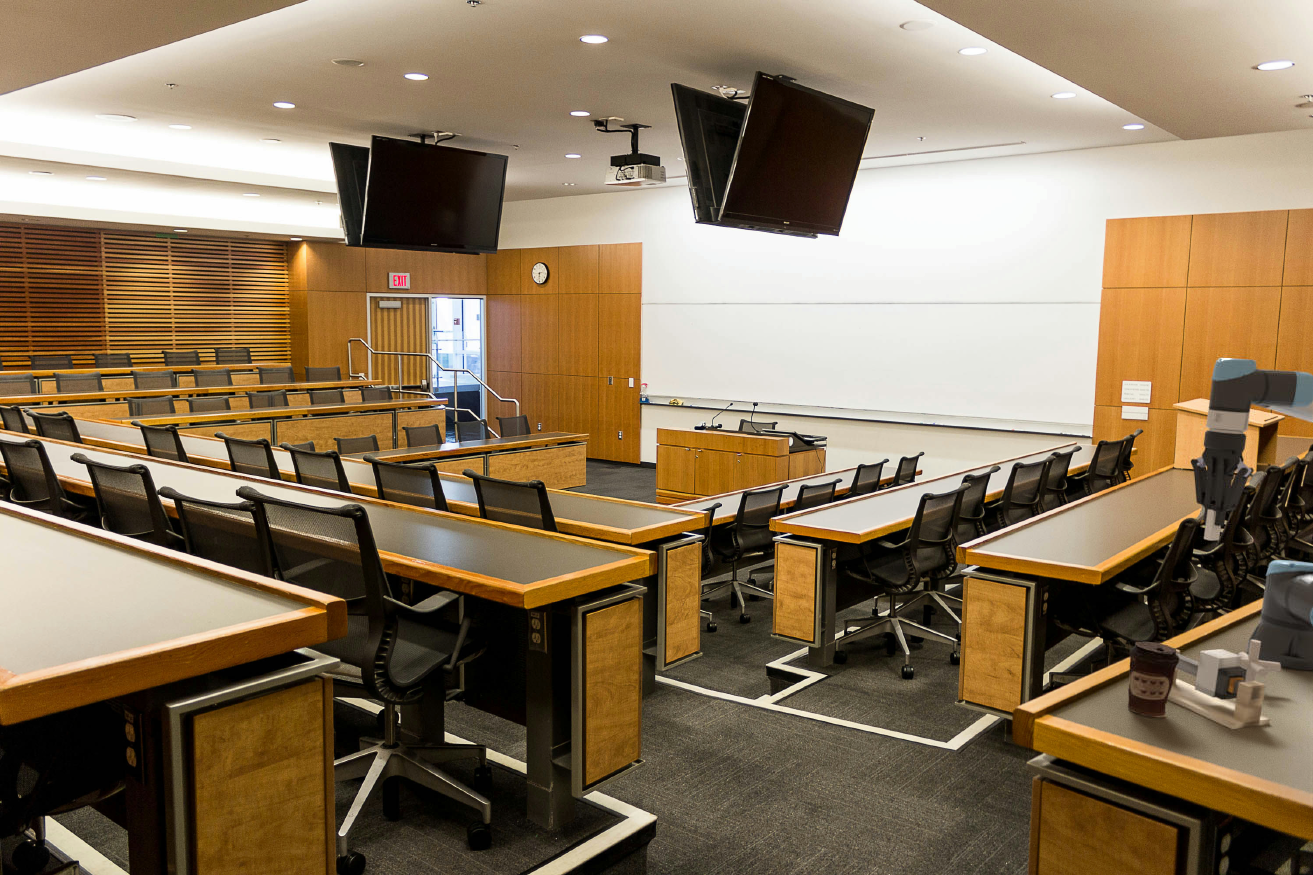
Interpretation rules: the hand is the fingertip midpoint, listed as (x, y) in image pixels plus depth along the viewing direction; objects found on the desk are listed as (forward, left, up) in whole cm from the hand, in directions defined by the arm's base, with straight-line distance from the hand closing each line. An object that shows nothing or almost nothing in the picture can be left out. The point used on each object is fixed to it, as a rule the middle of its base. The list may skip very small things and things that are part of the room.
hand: (1211, 539), depth 199 cm
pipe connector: (-3, +11, -29) cm, 31 cm away
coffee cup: (+32, +16, -29) cm, 46 cm away
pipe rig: (+17, +16, -29) cm, 37 cm away
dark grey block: (+17, +21, -26) cm, 37 cm away
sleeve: (+17, +18, -26) cm, 36 cm away
